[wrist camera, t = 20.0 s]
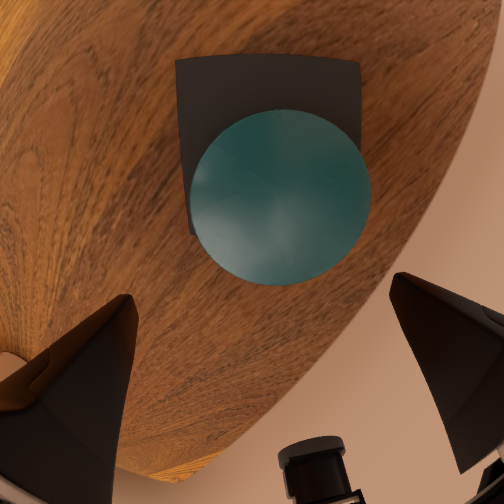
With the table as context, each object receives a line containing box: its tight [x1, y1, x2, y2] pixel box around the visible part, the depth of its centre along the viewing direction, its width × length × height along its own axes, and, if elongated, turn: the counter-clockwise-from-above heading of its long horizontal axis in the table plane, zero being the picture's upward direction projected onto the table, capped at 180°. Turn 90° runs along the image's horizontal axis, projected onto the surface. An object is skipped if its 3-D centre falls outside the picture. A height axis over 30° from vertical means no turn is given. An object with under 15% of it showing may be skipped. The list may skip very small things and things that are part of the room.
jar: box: [0, 352, 27, 382], centre depth 14 cm, size 6×6×9 cm
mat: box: [175, 54, 361, 235], centre depth 11 cm, size 8×8×1 cm
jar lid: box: [189, 108, 371, 286], centre depth 11 cm, size 7×7×2 cm
